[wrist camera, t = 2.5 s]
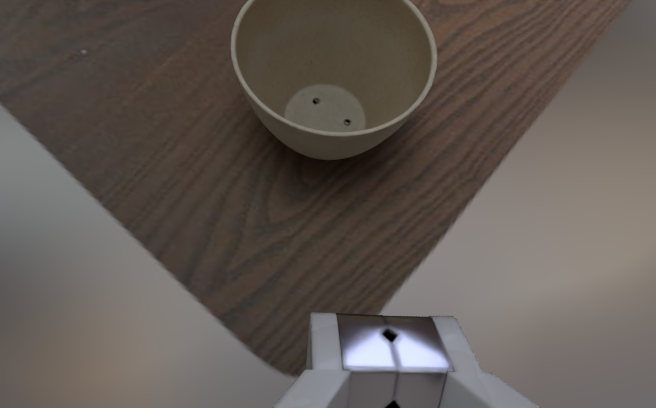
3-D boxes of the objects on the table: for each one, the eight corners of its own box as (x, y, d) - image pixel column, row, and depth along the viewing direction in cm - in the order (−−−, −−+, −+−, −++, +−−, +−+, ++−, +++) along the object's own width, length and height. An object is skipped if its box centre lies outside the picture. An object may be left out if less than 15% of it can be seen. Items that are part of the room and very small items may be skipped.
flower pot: (342, 36, 31) (358, -58, 24) (432, 146, 29) (478, 74, 22) (212, 99, 28) (191, 12, 22) (300, 227, 26) (306, 173, 19)
